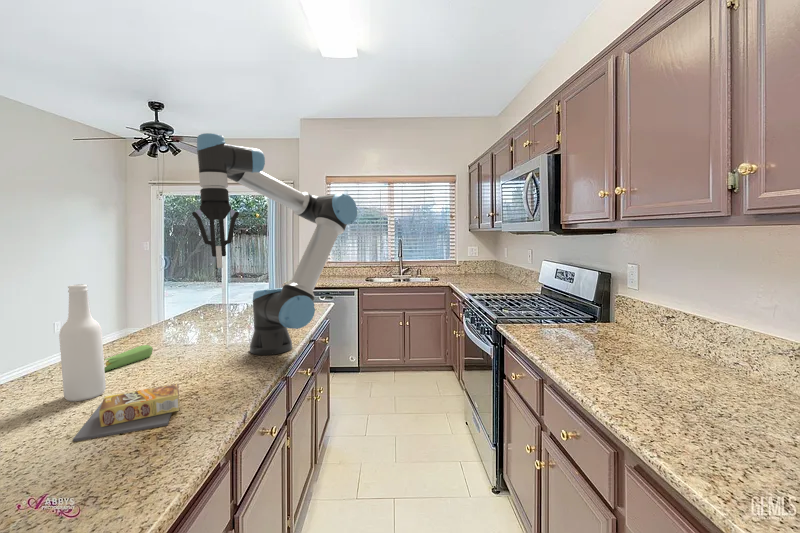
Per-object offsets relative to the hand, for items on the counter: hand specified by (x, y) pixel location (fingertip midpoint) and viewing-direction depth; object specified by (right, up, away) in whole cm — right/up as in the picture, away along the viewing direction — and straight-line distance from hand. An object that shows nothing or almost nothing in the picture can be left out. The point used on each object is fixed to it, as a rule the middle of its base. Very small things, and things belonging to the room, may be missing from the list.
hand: (219, 267), depth 117 cm
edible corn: (-38, -33, +14) cm, 52 cm away
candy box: (0, -32, -21) cm, 38 cm away
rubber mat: (-10, -35, -24) cm, 44 cm away
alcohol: (-30, -35, -13) cm, 48 cm away
